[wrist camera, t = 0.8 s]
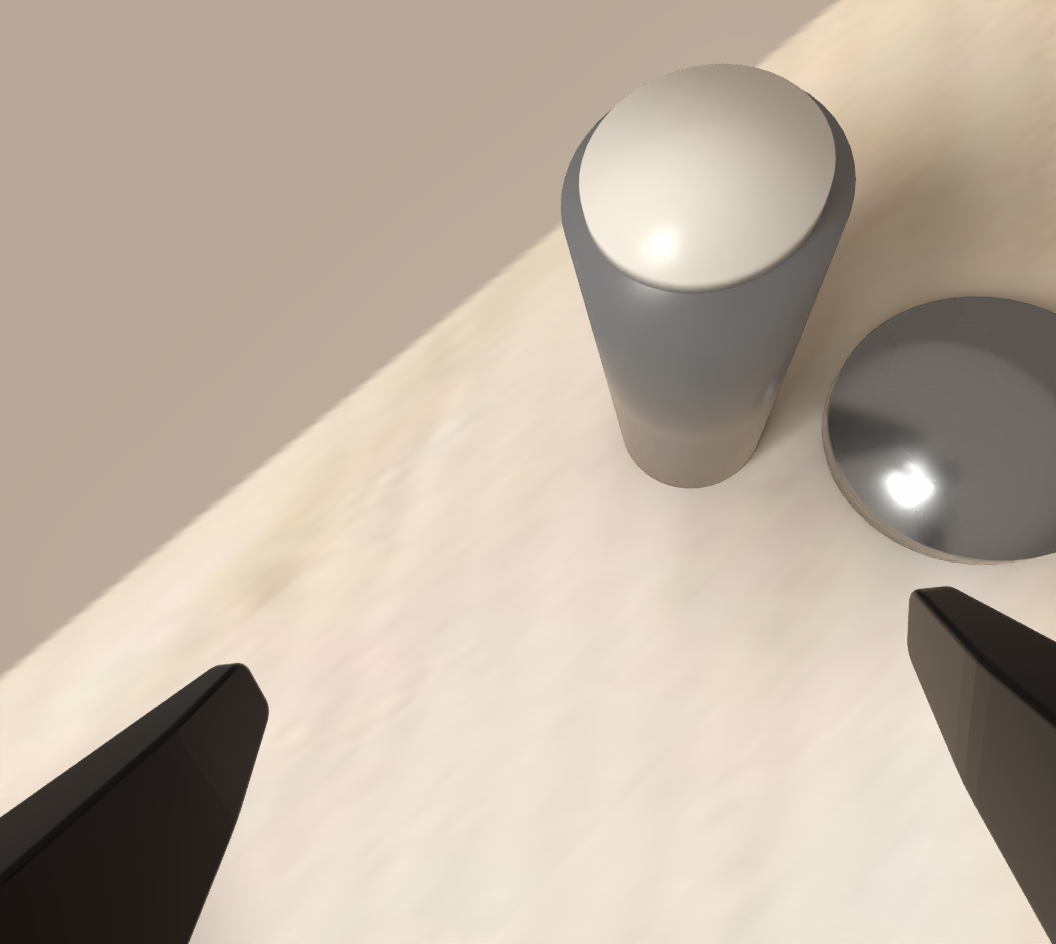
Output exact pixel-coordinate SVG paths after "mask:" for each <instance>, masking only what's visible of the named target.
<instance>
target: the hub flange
mask: <svg viewBox="0 0 1056 944" xmlns="http://www.w3.org/2000/svg"><path fill="white" fill-rule="evenodd" d="M822 436H823V446H824V451H825V455H826V459H827V463H828V466H829V468H830V471H831V473H832V476H833V478H834V480H835V482H836V483H837V485H838V487H839V489H840V490H841V492H842V494H843V495H844V496H845V498H846V499H847V500H848V502H849V503H850V504H851V506H852V507H853V508H854V509H855V510H856V511H857V512H858V513H859V514H860V515H861V516H862V517H863V518H864V519H865V520H866V521H867V522H868V523H869V524H871V525H872V526H873V527H874V528H875V529H877V530H878V531H879V532H881V533H882V534H884V535H885V536H887V537H888V538H890V539H892V540H893V541H895V542H896V543H898V544H901V545H903V546H905V547H907V548H909V549H911V550H913V551H915V552H918V553H921V554H924V555H927V556H930V557H933V558H937V559H941V560H945V561H950V562H955V563H964V564H973V565H994V564H1003V563H1011V562H1017V561H1021V560H1026V559H1030V558H1035V557H1039V556H1043V555H1047V554H1051V553H1055V552H1056V314H1055V313H1053V312H1050V311H1048V310H1045V309H1042V308H1039V307H1036V306H1034V305H1031V304H1027V303H1023V302H1018V301H1014V300H1009V299H1001V298H993V297H960V298H950V299H944V300H939V301H934V302H930V303H927V304H924V305H920V306H917V307H914V308H912V309H909V310H907V311H905V312H903V313H900V314H898V315H896V316H895V317H893V318H891V319H890V320H888V321H886V322H884V323H883V324H881V325H880V326H879V327H878V328H876V329H875V330H874V331H872V332H871V333H870V334H869V335H868V336H867V337H866V338H865V339H864V340H863V341H862V342H861V343H860V344H859V345H858V346H857V347H856V348H855V350H854V351H853V352H852V354H851V355H850V356H849V358H848V359H847V361H846V362H845V364H844V366H843V367H842V369H841V371H840V372H839V374H838V376H837V378H836V379H835V381H834V383H833V385H832V387H831V389H830V392H829V395H828V397H827V400H826V404H825V409H824V414H823V425H822Z"/></svg>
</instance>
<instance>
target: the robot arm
mask: <svg viewBox="0 0 1056 944" xmlns="http://www.w3.org/2000/svg"><path fill="white" fill-rule="evenodd" d="M907 645H908V651H909V656H910V659H911V662H912V664H913V667H914V669H915V671H916V674H917V676H918V679H919V681H920V683H921V686H922V688H923V690H924V693H925V695H926V698H927V700H928V702H929V705H930V707H931V709H932V712H933V714H934V716H935V719H936V721H937V724H938V726H939V728H940V731H941V733H942V735H943V738H944V740H945V743H946V745H947V747H948V750H949V752H950V754H951V757H952V759H953V761H954V764H955V766H956V768H957V770H958V773H959V775H960V777H961V779H962V782H963V784H964V786H965V788H966V790H967V791H968V793H969V795H970V797H971V799H972V801H973V803H974V805H975V807H976V808H977V810H978V812H979V814H980V816H981V817H982V819H983V821H984V823H985V825H986V826H987V828H988V830H989V832H990V834H991V835H992V837H993V839H994V841H995V842H996V844H997V846H998V848H999V850H1000V851H1001V853H1002V855H1003V857H1004V859H1005V860H1006V862H1007V864H1008V866H1009V868H1010V869H1011V871H1012V873H1013V875H1014V877H1015V878H1016V880H1017V882H1018V884H1019V886H1020V887H1021V889H1022V891H1023V893H1024V894H1025V896H1026V898H1027V900H1028V902H1029V903H1030V905H1031V907H1032V909H1033V911H1034V912H1035V914H1036V916H1037V918H1038V920H1039V921H1040V923H1041V925H1042V927H1043V929H1044V930H1045V932H1046V934H1047V936H1048V938H1049V939H1050V941H1051V943H1052V944H1056V642H1055V641H1053V640H1051V639H1049V638H1048V637H1046V636H1044V635H1042V634H1040V633H1038V632H1036V631H1034V630H1033V629H1031V628H1029V627H1027V626H1025V625H1023V624H1021V623H1019V622H1017V621H1016V620H1014V619H1012V618H1010V617H1008V616H1006V615H1004V614H1002V613H1001V612H999V611H997V610H995V609H993V608H991V607H989V606H987V605H985V604H984V603H982V602H980V601H978V600H976V599H974V598H972V597H970V596H968V595H967V594H965V593H963V592H961V591H959V590H957V589H955V588H952V587H948V586H943V587H933V588H924V589H917V590H915V591H913V592H912V593H911V596H910V599H909V614H908V636H907ZM268 715H269V707H268V703H267V700H266V698H265V697H264V695H263V693H262V691H261V689H260V688H259V686H258V684H257V682H256V681H255V679H254V677H253V675H252V673H251V672H250V670H249V669H248V667H247V666H245V665H244V664H241V663H233V664H223V665H218V666H215V667H213V668H211V669H209V670H208V671H207V672H205V673H204V674H202V675H201V676H199V677H198V678H197V679H195V680H194V681H192V682H191V683H190V684H188V685H187V686H185V687H184V688H183V689H181V690H180V691H178V692H177V693H175V694H174V695H173V696H171V697H170V698H168V699H167V700H166V701H164V702H163V703H161V704H160V705H159V706H157V707H156V708H154V709H153V710H151V711H150V712H149V713H147V714H146V715H144V716H143V717H142V718H140V719H139V720H137V721H136V722H134V723H133V724H132V725H130V726H129V727H127V728H126V729H125V730H123V731H122V732H120V733H119V734H118V735H116V736H115V737H113V738H112V739H110V740H109V741H108V742H106V743H105V744H103V745H102V746H101V747H99V748H98V749H96V750H95V751H94V752H92V753H91V754H89V755H88V756H86V757H85V758H84V759H82V760H81V761H79V762H78V763H77V764H75V765H74V766H72V767H71V768H69V769H68V770H67V771H65V772H64V773H62V774H61V775H60V776H58V777H57V778H55V779H54V780H53V781H51V782H50V783H48V784H47V785H45V786H44V787H43V788H41V789H40V790H38V791H37V792H36V793H34V794H33V795H31V796H30V797H29V798H27V799H26V800H24V801H23V802H21V803H20V804H19V805H17V806H16V807H14V808H13V809H12V810H10V811H9V812H7V813H6V814H4V815H3V816H2V817H0V944H189V941H190V939H191V936H192V934H193V931H194V929H195V926H196V924H197V921H198V919H199V916H200V914H201V911H202V909H203V906H204V904H205V901H206V899H207V896H208V894H209V891H210V889H211V886H212V884H213V881H214V879H215V876H216V874H217V871H218V869H219V866H220V864H221V861H222V859H223V856H224V854H225V851H226V849H227V846H228V844H229V841H230V839H231V836H232V833H233V831H234V828H235V825H236V823H237V820H238V817H239V814H240V811H241V807H242V804H243V801H244V798H245V794H246V791H247V788H248V784H249V781H250V778H251V774H252V771H253V768H254V764H255V761H256V758H257V754H258V751H259V748H260V744H261V741H262V738H263V734H264V731H265V728H266V724H267V721H268Z"/></svg>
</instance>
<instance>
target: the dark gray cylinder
mask: <svg viewBox="0 0 1056 944" xmlns="http://www.w3.org/2000/svg"><path fill="white" fill-rule="evenodd" d="M855 182H856V177H855V164H854V159H853V155H852V151H851V147H850V145H849V143H848V140H847V138H846V136H845V134H844V131H843V130H842V128H841V127H840V125H839V124H838V122H837V121H836V119H835V118H834V117H833V116H832V114H831V113H830V112H829V111H828V110H827V109H826V108H825V107H824V106H823V105H822V104H821V103H820V102H819V101H817V100H816V99H815V98H814V97H812V96H811V95H810V94H808V93H807V92H805V91H803V90H802V89H800V88H799V87H798V86H796V85H795V84H793V83H792V82H790V81H788V80H787V79H785V78H783V77H781V76H778V75H776V74H774V73H772V72H769V71H765V70H762V69H759V68H755V67H749V66H743V65H732V64H714V65H713V64H712V65H703V66H696V67H691V68H686V69H682V70H679V71H675V72H672V73H669V74H667V75H664V76H661V77H659V78H657V79H655V80H653V81H651V82H649V83H647V84H645V85H643V86H642V87H640V88H638V89H637V90H635V91H634V92H632V93H631V94H630V95H628V96H627V97H626V98H624V99H623V100H622V101H620V102H619V103H618V105H616V106H615V107H614V108H613V109H612V110H610V111H609V112H608V113H607V114H606V115H605V116H604V117H603V118H602V119H601V120H599V121H598V122H597V123H596V125H595V126H594V127H593V128H592V129H591V130H590V132H589V133H588V134H587V135H586V136H585V138H584V140H583V141H582V142H581V144H580V146H579V147H578V148H577V150H576V152H575V154H574V156H573V158H572V160H571V162H570V165H569V167H568V170H567V173H566V176H565V180H564V184H563V189H562V197H561V215H562V225H563V228H564V232H565V236H566V240H567V243H568V247H569V250H570V254H571V257H572V261H573V264H574V268H575V271H576V275H577V278H578V282H579V285H580V289H581V292H582V296H583V299H584V303H585V306H586V310H587V313H588V317H589V320H590V324H591V327H592V331H593V334H594V338H595V341H596V345H597V348H598V352H599V355H600V359H601V362H602V365H603V369H604V372H605V376H606V379H607V383H608V386H609V390H610V393H611V397H612V400H613V404H614V407H615V411H616V414H617V418H618V421H619V425H620V428H621V432H622V435H623V439H624V442H625V445H626V448H627V450H628V452H629V454H630V456H631V457H632V459H633V460H634V461H635V463H636V464H637V465H638V466H639V467H640V468H641V469H642V470H643V471H644V472H645V473H646V474H648V475H649V476H651V477H652V478H654V479H656V480H658V481H660V482H662V483H665V484H667V485H671V486H675V487H681V488H701V487H706V486H711V485H714V484H717V483H719V482H722V481H724V480H726V479H727V478H729V477H731V476H732V475H734V474H735V473H736V472H738V471H739V470H740V469H741V468H742V467H743V466H744V465H745V464H746V463H747V461H748V460H749V459H750V457H751V456H752V454H753V453H754V451H755V449H756V446H757V444H758V441H759V439H760V436H761V434H762V431H763V429H764V426H765V424H766V421H767V419H768V417H769V414H770V412H771V409H772V407H773V404H774V402H775V399H776V397H777V394H778V392H779V389H780V387H781V384H782V382H783V379H784V377H785V374H786V372H787V369H788V367H789V364H790V362H791V359H792V357H793V354H794V352H795V349H796V347H797V344H798V342H799V339H800V337H801V334H802V332H803V329H804V327H805V324H806V322H807V319H808V317H809V314H810V312H811V309H812V307H813V304H814V302H815V299H816V297H817V294H818V292H819V289H820V287H821V285H822V282H823V280H824V277H825V275H826V272H827V270H828V267H829V265H830V262H831V260H832V257H833V255H834V252H835V250H836V247H837V245H838V242H839V240H840V237H841V235H842V232H843V230H844V227H845V225H846V222H847V220H848V217H849V215H850V211H851V207H852V203H853V199H854V193H855Z"/></svg>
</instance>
